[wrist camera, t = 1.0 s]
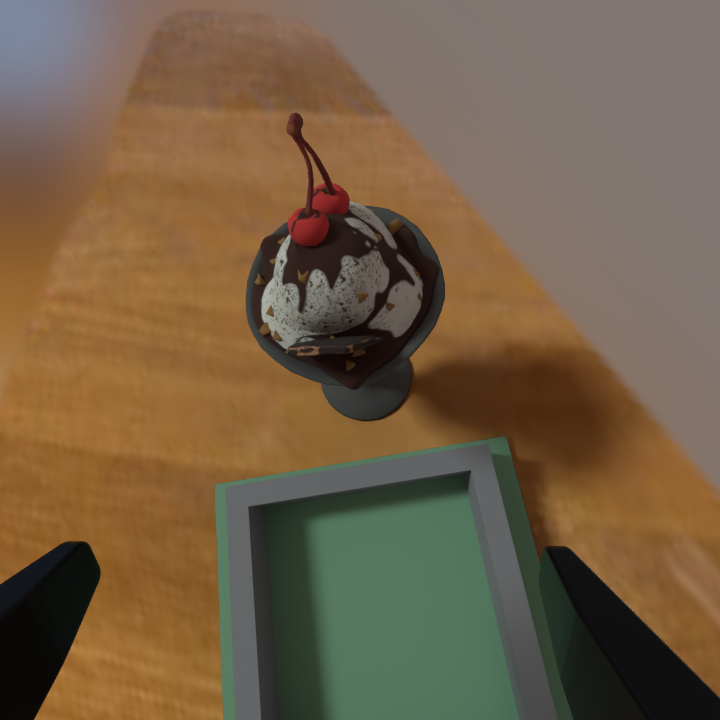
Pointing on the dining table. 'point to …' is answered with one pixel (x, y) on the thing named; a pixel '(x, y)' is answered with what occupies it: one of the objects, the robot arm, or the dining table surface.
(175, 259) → the dining table surface
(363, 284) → the sundae
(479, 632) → the rimmed mat
